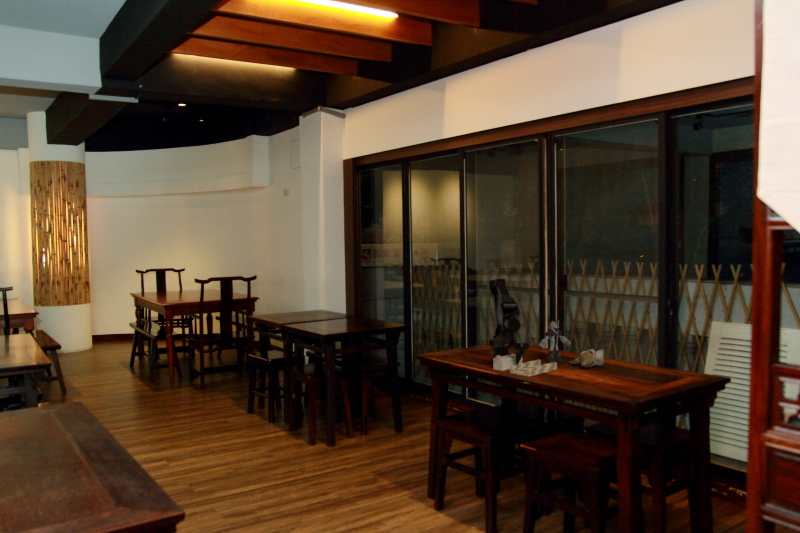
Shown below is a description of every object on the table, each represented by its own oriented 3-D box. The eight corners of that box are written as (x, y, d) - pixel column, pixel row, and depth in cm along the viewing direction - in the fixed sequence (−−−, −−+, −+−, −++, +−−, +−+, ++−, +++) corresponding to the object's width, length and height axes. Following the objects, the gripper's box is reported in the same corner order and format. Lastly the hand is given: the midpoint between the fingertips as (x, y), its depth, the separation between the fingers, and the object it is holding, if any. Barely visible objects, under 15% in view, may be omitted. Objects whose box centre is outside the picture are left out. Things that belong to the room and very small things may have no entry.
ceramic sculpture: (610, 347, 280) (581, 352, 275) (611, 367, 281) (582, 372, 276) (595, 344, 290) (567, 348, 285) (596, 362, 291) (568, 367, 286)
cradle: (529, 376, 265) (529, 369, 265) (509, 373, 272) (509, 366, 272) (556, 369, 278) (556, 362, 278) (537, 366, 286) (537, 359, 286)
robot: (565, 358, 302) (565, 316, 301) (573, 360, 298) (573, 317, 297) (535, 363, 291) (534, 320, 291) (542, 365, 287) (542, 321, 286)
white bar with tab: (500, 371, 277) (500, 356, 277) (491, 369, 281) (491, 355, 280) (525, 365, 289) (524, 351, 288) (516, 364, 292) (516, 349, 292)
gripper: (480, 328, 285) (480, 363, 286) (514, 332, 272) (514, 368, 272) (496, 325, 293) (496, 359, 294) (529, 329, 279) (530, 365, 280)
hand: (508, 363), depth 285 cm, fingers open, 9 cm apart
